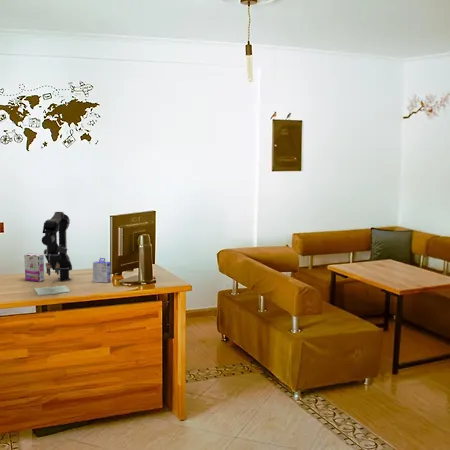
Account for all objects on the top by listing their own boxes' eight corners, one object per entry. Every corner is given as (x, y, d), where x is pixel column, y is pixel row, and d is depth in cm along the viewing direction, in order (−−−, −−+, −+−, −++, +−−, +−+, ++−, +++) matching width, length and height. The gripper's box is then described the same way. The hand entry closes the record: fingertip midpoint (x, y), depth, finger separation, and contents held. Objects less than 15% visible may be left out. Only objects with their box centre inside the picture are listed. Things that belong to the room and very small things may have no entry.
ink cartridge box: (111, 280, 367) (110, 258, 364) (107, 283, 361) (107, 259, 359) (96, 279, 369) (96, 257, 366) (92, 282, 363) (92, 259, 361)
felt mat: (34, 289, 344) (34, 288, 344) (65, 286, 352) (65, 285, 352) (38, 295, 332) (38, 294, 332) (70, 292, 340) (70, 291, 340)
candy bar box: (44, 280, 365) (44, 254, 363) (39, 282, 361) (38, 256, 358) (30, 278, 370) (29, 252, 367) (24, 280, 365) (23, 254, 362)
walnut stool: (45, 273, 342) (45, 263, 341) (57, 272, 345) (56, 262, 344) (48, 275, 336) (47, 265, 335) (59, 274, 339) (59, 264, 338)
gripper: (69, 243, 333) (70, 270, 336) (62, 238, 349) (63, 264, 352) (49, 245, 328) (50, 272, 330) (43, 239, 344) (43, 266, 347)
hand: (52, 268), depth 340 cm, fingers closed on walnut stool, 6 cm apart
